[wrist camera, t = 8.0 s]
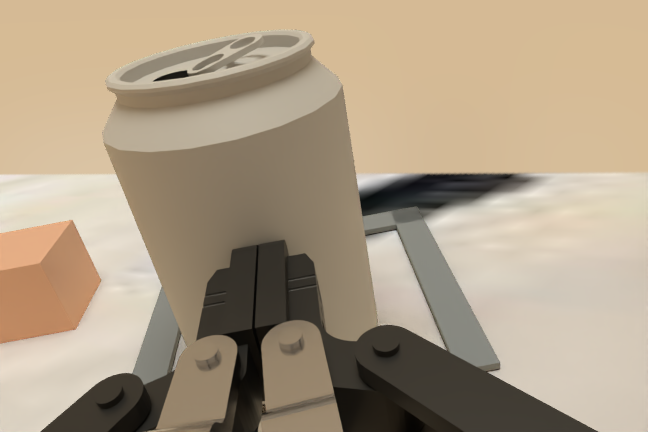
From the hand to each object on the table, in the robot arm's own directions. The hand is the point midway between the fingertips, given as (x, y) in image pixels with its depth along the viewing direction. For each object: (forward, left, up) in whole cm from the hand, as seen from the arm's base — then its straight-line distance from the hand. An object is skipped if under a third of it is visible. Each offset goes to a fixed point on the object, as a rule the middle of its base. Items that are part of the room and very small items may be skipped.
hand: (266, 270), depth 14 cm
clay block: (+13, -10, -6) cm, 17 cm away
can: (0, -4, -7) cm, 7 cm away
